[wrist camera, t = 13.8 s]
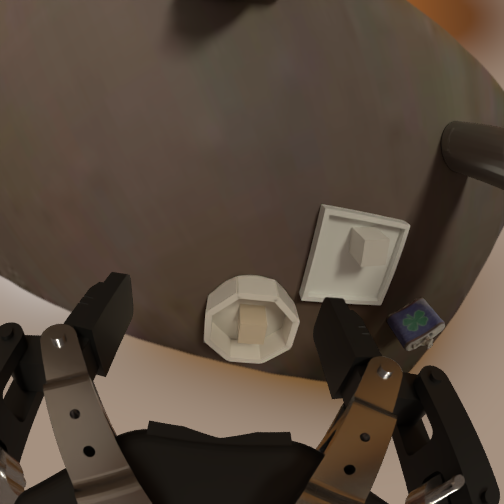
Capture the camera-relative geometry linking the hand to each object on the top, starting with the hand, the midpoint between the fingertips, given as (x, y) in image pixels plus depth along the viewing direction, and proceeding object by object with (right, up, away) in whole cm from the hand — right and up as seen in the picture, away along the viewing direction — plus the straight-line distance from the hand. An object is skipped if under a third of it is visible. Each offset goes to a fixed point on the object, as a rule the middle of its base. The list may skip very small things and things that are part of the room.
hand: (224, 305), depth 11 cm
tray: (+17, +1, +31) cm, 36 cm away
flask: (+32, -9, +37) cm, 50 cm away
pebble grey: (+18, +4, +29) cm, 34 cm away
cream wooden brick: (+1, -8, +34) cm, 35 cm away
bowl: (+1, -8, +35) cm, 35 cm away
